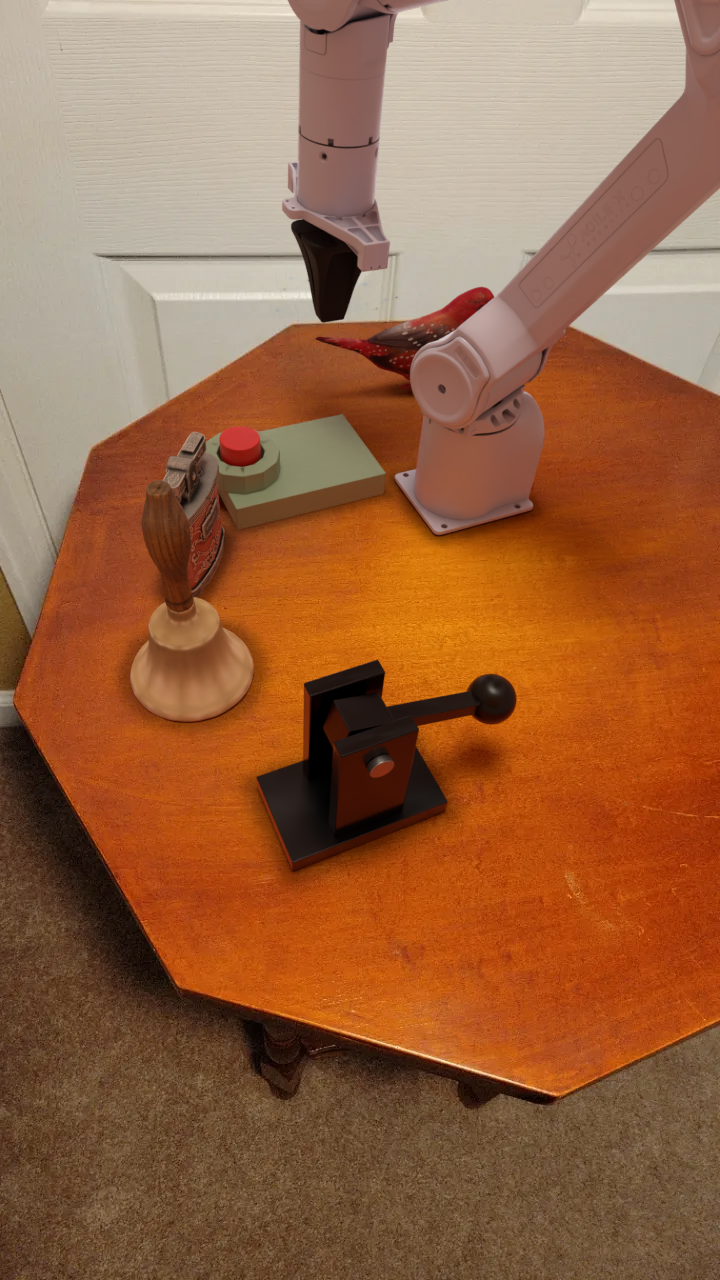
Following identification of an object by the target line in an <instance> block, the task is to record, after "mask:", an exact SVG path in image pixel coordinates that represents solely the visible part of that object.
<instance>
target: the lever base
mask: <svg viewBox="0 0 720 1280" xmlns="http://www.w3.org/2000/svg"><path fill="white" fill-rule="evenodd" d="M385 676H386V671H385V669H384V667H383V666H382V664H381V662H380V661H379V659H375V660H371V661H368V662H365V663H362V664H359V665H356V666H353V667H349V668H346V669H344V670H340V671H337V672H333V673H331V674H327V675H325V676H321V677H318V678H315V679H311V680H309V681H306V682H304V683H303V717H302V718H303V720H302V722H303V724H302V725H303V727H302V728H303V729H302V730H303V731H302V760H301V761H298V762H295V763H292V764H289V765H286V766H283V767H280V768H277V769H274V770H272V771H269V772H266V773H263V774H260V775H257V776H255V777H256V789H257V790H258V793H259V794H260V798H261V800H262V802H263V805H264V808H265V809H266V812H267V814H268V817H269V819H270V821H271V825H272V826H273V829H274V831H275V833H276V836H277V838H278V840H279V842H280V846H281V848H282V850H283V853H284V855H285V858H286V860H287V862H288V864H289V867H290V869H291V871H292V872H295V871H298V870H301V869H302V868H305V867H309V866H310V865H313V864H315V863H318V862H321V861H322V860H325V859H328V858H330V857H333V856H335V855H338V854H341V853H343V852H346V851H348V850H350V849H353V848H356V847H359V846H361V845H364V844H367V843H369V842H371V841H373V840H376V839H379V838H381V837H384V836H386V835H388V834H391V833H393V832H396V831H399V830H401V829H404V828H406V827H409V826H411V825H414V824H416V823H419V822H422V821H424V820H428V818H431V817H434V816H437V815H440V814H442V813H445V812H446V810H447V806H448V803H449V801H448V799H447V797H446V796H445V794H444V792H443V791H442V789H441V787H440V785H439V784H438V782H437V780H436V779H435V777H434V775H433V773H432V771H431V769H430V768H429V766H428V764H427V763H426V761H425V759H424V758H423V755H421V752H420V751H419V749H418V748H417V742H418V738H419V732H420V728H419V726H417V725H416V723H415V721H414V720H413V718H412V716H411V715H410V716H407V717H404V718H401V719H398V720H395V721H393V722H390V723H387V724H384V725H381V726H378V727H375V728H372V729H370V730H367V731H364V732H361V733H358V734H355V735H352V736H349V737H347V738H344V739H341V740H338V741H335V742H334V744H333V747H332V745H331V743H330V741H329V739H328V737H327V735H326V733H325V731H324V729H323V725H324V723H325V720H326V718H327V715H328V712H329V710H330V707H331V705H332V702H333V700H335V699H341V698H347V697H352V696H358V695H364V694H369V693H375V692H378V693H379V694H380V696H381V698H382V699H383V692H384V684H385Z"/></svg>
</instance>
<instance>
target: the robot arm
mask: <svg viewBox="0 0 720 1280" xmlns="http://www.w3.org/2000/svg"><path fill="white" fill-rule="evenodd" d="M447 1H448V0H287V2H288V4H289V6H290V8H291V10H292V12H293V13H294V15H295V16H296V17H297V19H298V20H299V40H298V41H299V42H298V43H299V44H298V45H299V46H298V50H299V51H298V113H297V114H298V115H297V119H298V120H297V161H290V162H288V163H287V189H288V190H289V191H290V192H291V193H293V197H289V198H284V199H282V201H281V211H282V212H283V213H284V214H285V216H286V217H287V218H288V219H290V220H294V221H292V222H291V224H290V229H291V233H292V235H293V236H294V238H295V240H296V243H297V245H298V247H299V251H300V253H301V255H302V259H303V262H304V266H305V270H306V273H307V280H308V285H309V289H310V290H309V291H310V294H311V295H310V296H311V300H312V301H311V302H312V306H313V309H314V313H315V316H316V317H317V318H318V320H319V321H320V322H321V323H322V324H323V323H324V324H325V323H331V322H337V321H342V320H345V318H346V315H347V312H348V308H349V305H350V303H351V299H352V298H353V297H352V296H353V293H354V290H355V288H356V285H357V283H358V281H359V278H360V276H361V274H362V273H364V272H374V271H379V270H386V269H388V265H389V256H390V247H391V241H390V240H389V239H388V238H387V236H386V235H385V233H384V230H383V225H382V220H381V216H380V209H379V206H378V201H377V199H376V190H377V189H376V188H377V177H378V167H379V166H378V165H379V153H380V152H379V151H380V140H381V129H382V115H383V103H384V91H385V79H386V68H387V56H388V49H389V47H390V44H391V43H393V42H394V33H395V32H394V31H395V23H396V19H397V17H398V14H399V13H403V12H407V11H410V10H411V11H412V10H414V9H420V8H423V7H426V6H431V5H434V4H435V5H436V4H438V3H439V4H440V3H442V2H447ZM673 2H674V4H675V10H676V14H677V17H678V21H679V25H680V29H681V33H682V38H683V41H684V45H685V76H684V77H685V78H684V79H685V80H684V81H685V82H684V89H683V92H682V94H681V95H680V97H679V98H678V99H677V100H676V101H675V102H674V103H673V104H672V105H671V106H670V107H669V109H667V111H665V113H664V114H663V115H662V116H661V117H660V118H659V120H658V121H656V122H655V123H654V125H653V126H652V127H651V129H649V130H648V132H646V134H645V135H644V136H643V137H642V138H641V139H640V140H639V141H638V142H637V143H636V144H635V145H634V147H632V149H631V150H630V151H629V152H628V153H627V154H626V155H625V156H624V157H623V158H622V159H621V160H620V162H619V163H618V164H617V165H616V166H615V167H614V168H613V169H612V170H611V171H610V173H609V174H607V175H606V177H605V178H604V179H603V180H602V181H601V182H600V183H599V184H598V185H597V187H595V188H594V190H593V191H592V192H591V193H590V194H589V195H588V196H587V198H585V200H584V201H583V202H581V204H580V205H579V206H578V207H577V208H576V209H575V210H574V212H573V213H572V214H570V216H569V217H568V218H567V219H566V220H565V221H563V223H562V224H561V226H559V227H558V229H557V230H556V231H555V232H554V233H553V234H552V235H551V236H550V237H549V239H547V241H546V242H545V243H544V244H543V245H542V246H541V247H540V248H539V249H538V251H536V252H535V254H534V255H533V256H532V257H531V258H530V259H529V260H528V261H527V262H526V263H525V265H524V266H522V267H521V269H520V270H518V272H517V273H516V274H515V275H514V276H513V278H512V279H510V281H509V282H508V283H507V284H506V285H505V286H504V287H503V288H502V289H501V290H500V291H499V292H498V293H497V294H496V295H495V296H494V298H493V299H492V300H491V301H490V302H488V303H487V304H486V305H485V306H483V307H482V308H481V309H480V310H478V311H477V312H476V313H475V314H473V315H472V316H471V317H470V318H469V319H467V320H466V321H465V322H464V323H462V324H461V325H460V326H459V327H458V328H457V329H456V330H455V331H453V332H451V333H450V334H448V335H446V336H445V337H443V338H441V339H440V340H437V341H434V342H431V343H428V344H426V345H425V346H423V347H422V348H421V349H420V350H419V351H418V352H417V353H416V355H415V357H414V358H413V361H412V364H411V369H410V380H409V383H411V386H410V387H412V389H411V391H412V394H413V397H414V399H415V401H416V403H417V405H418V407H419V408H420V412H421V414H422V415H423V417H422V424H421V429H420V430H421V431H420V438H419V445H418V452H417V459H416V466H415V468H414V469H410V470H406V471H402V472H398V473H396V474H395V475H394V481H395V483H396V484H397V486H398V487H399V488H400V490H401V491H402V492H403V494H404V495H405V497H406V498H407V499H408V501H409V502H410V503H411V504H412V506H413V507H414V509H415V510H416V512H417V513H418V514H419V516H420V517H421V518H422V520H423V521H424V522H425V524H426V525H427V526H428V528H429V530H430V531H431V532H432V533H433V534H434V535H437V536H443V535H445V534H450V533H452V532H453V533H454V532H457V531H459V530H460V531H461V530H465V529H467V528H471V527H475V526H479V525H482V524H485V523H489V522H493V521H497V520H501V519H504V518H508V517H512V516H515V515H518V514H522V513H526V512H529V511H532V510H533V508H534V503H533V502H532V500H530V494H531V491H532V488H533V484H534V481H535V477H536V474H537V473H536V472H537V470H538V466H539V462H540V458H541V455H542V452H543V448H544V444H545V436H546V435H545V434H546V433H545V430H546V429H545V421H544V417H543V413H542V410H541V407H540V406H539V404H538V402H537V401H536V400H535V398H534V397H533V395H531V394H530V393H528V391H526V390H525V389H526V388H525V387H526V384H528V383H530V382H532V381H533V380H534V379H536V378H537V377H538V376H539V375H540V374H541V373H542V371H543V370H544V368H545V366H546V365H547V361H548V358H549V355H550V352H551V350H552V349H553V347H554V346H555V344H556V343H557V342H558V341H560V340H561V339H562V338H563V337H564V336H565V335H566V332H567V331H566V329H568V327H569V326H571V325H572V324H573V323H574V322H575V321H576V320H577V319H578V318H579V317H580V316H582V314H584V313H585V312H586V311H587V310H588V309H589V308H590V307H591V306H592V305H594V304H595V303H596V302H597V301H598V300H599V299H600V298H601V297H602V296H603V295H605V293H606V292H609V290H610V289H611V288H612V287H613V286H614V285H616V284H617V283H618V282H619V281H620V280H621V279H622V278H623V277H624V276H625V275H627V274H628V273H629V272H630V271H631V270H632V269H633V268H635V266H636V265H637V264H638V263H640V262H641V261H642V260H643V259H644V258H645V257H647V255H649V254H650V252H652V251H653V250H654V249H655V248H656V247H658V245H659V244H661V243H662V242H663V241H664V240H665V239H666V238H667V237H668V236H669V235H671V234H672V232H673V231H675V230H676V229H677V228H678V227H679V226H680V225H682V223H684V222H685V221H686V220H687V219H688V218H689V217H691V215H692V214H694V213H695V212H696V211H697V210H698V209H699V208H700V207H701V206H703V204H705V202H707V201H708V200H709V199H710V198H711V197H712V196H713V195H714V194H716V193H717V192H718V191H719V190H720V0H673Z"/></svg>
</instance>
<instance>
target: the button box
mask: <svg viewBox="0 0 720 1280" xmlns="http://www.w3.org/2000/svg"><path fill="white" fill-rule="evenodd" d="M256 431H257V432H258V434H259V435H260V445H261V457H260V460H259V461H258V462H257V463H255V464H254V465H249V466H245V467H238V466H230V465H228V464H226V463H224V462H223V460H222V458H221V452H220V441H219V438H220V435H221V433H222V432H223V431H220V432H218V433H217V434H215V435H213V436H212V437H211V438H209V439H208V440H206V451H205V453H208V454H211V455H213V456H214V457H216V458H217V460H218V465H219V475H218V480H217V484H218V495H219V497H220V498H221V500H222V502H223V504H224V506H225V508H226V509H227V512H228V513H229V516H230V518H231V519H232V521H233V524H234V526H235V527H236V529H237V530H238V531H240V530H244V529H248V528H252V527H256V526H260V525H264V524H269V523H273V522H276V521H280V520H284V519H288V518H292V517H297V516H301V515H304V514H309V513H313V512H316V511H321V510H325V509H329V508H333V507H338V506H339V505H340V506H341V505H345V504H348V503H352V502H358V501H361V500H364V499H369V498H372V497H377V496H381V495H384V494H385V486H386V480H387V479H386V478H387V472H386V471H385V470H384V468H383V467H382V466H381V464H380V462H378V460H377V459H376V458H375V456H374V454H373V453H372V452H371V450H370V449H369V448H368V447H367V445H366V444H365V442H364V441H363V440H362V438H361V436H359V434H358V433H357V432H356V430H355V429H354V427H353V426H352V425H351V423H350V422H349V421H348V419H347V418H346V416H345V415H344V414H343V413H341V414H336V415H331V416H326V417H322V418H317V419H313V420H308V421H307V420H306V421H303V422H297V423H293V424H288V425H283V426H279V427H275V428H270V429H266V430H260V431H259V430H256Z"/></svg>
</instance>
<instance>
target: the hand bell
mask: <svg viewBox="0 0 720 1280" xmlns="http://www.w3.org/2000/svg"><path fill="white" fill-rule="evenodd" d="M162 480H163V479H162ZM162 480H160V479H157V480H153V481H151V482H149V483H148V484H147V486H146V488H145V501H144V505H143V510H142V513H141V514H142V515H141V531H142V535H143V537H142V538H143V541H144V543H145V547H146V550H147V553H148V555H149V557H150V558H151V561H152V562H153V564H154V566H155V567H156V568H157V569H158V571H159V573H160V576H161V580H162V588H163V595H164V602H163V603H161V604H160V605H158V606H157V608H155V610H154V611H153V613H152V614H151V616H150V618H149V621H148V627H147V628H148V640H147V641H146V642H145V643H144V644H143V645H142V646H141V648H140V649H139V650H138V652H137V653H136V655H135V657H134V659H133V661H132V664H131V667H130V673H129V674H130V675H129V680H130V687H131V690H132V692H133V695H134V696H135V698H136V700H137V701H138V703H139V704H140V705H141V706H142V707H143V708H144V709H145V710H147V711H148V712H150V713H151V714H153V715H155V716H157V717H159V718H162V719H165V720H168V721H175V722H183V723H186V722H187V723H188V722H189V723H191V722H200V721H204V720H209V719H212V718H216V717H217V716H220V715H222V714H224V713H225V712H228V711H229V710H230V709H232V708H233V707H234V706H236V705H237V704H238V703H240V701H241V700H242V699H243V698H244V697H245V696H246V695H247V693H248V691H249V689H250V688H251V685H252V682H253V679H254V673H255V664H254V658H253V656H252V653H251V650H250V649H249V647H248V646H247V645H246V643H245V642H244V641H243V640H242V639H241V638H240V637H239V636H238V635H236V633H234V632H232V631H230V629H227V628H224V627H223V625H222V622H221V619H220V616H219V613H218V611H217V609H216V608H215V607H214V606H213V605H212V604H211V603H210V602H208V601H207V600H205V599H202V598H199V597H197V598H196V597H193V594H192V590H191V586H190V582H189V578H188V572H187V566H188V562H189V558H190V552H191V534H190V528H189V522H188V519H187V516H186V514H185V512H184V510H183V508H182V506H181V504H180V503H179V501H178V500H177V498H176V497H175V495H174V493H173V491H172V489H171V486H170V485H169V484H168V483H167V482H165V481H162Z"/></svg>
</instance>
